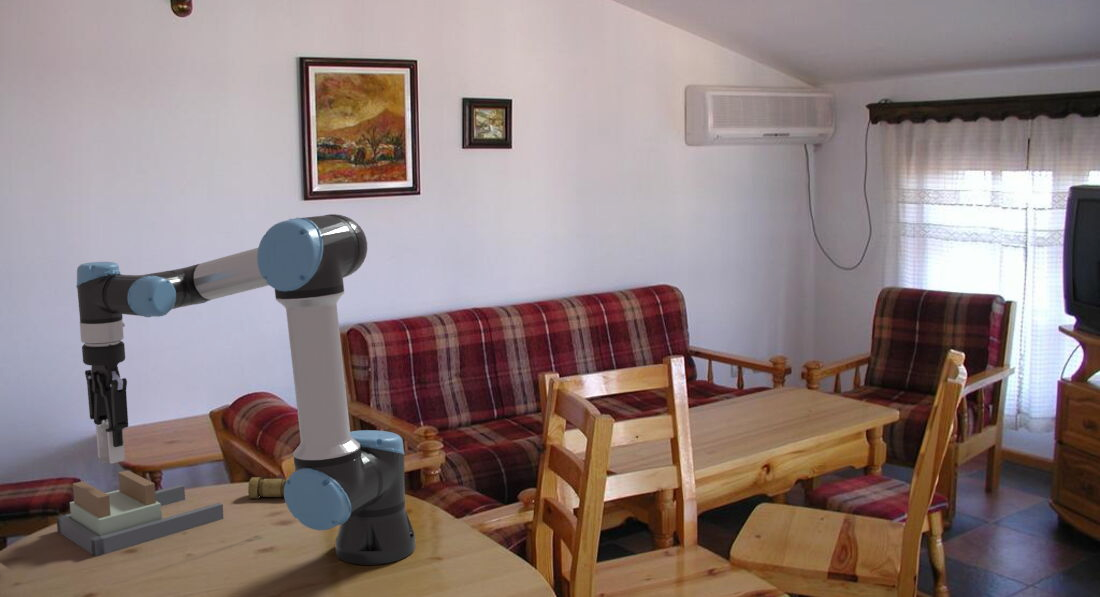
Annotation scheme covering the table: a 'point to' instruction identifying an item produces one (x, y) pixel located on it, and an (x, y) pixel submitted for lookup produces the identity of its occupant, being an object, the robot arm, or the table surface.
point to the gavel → (267, 487)
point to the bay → (140, 532)
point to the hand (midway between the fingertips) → (111, 458)
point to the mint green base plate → (115, 505)
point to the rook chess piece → (104, 443)
